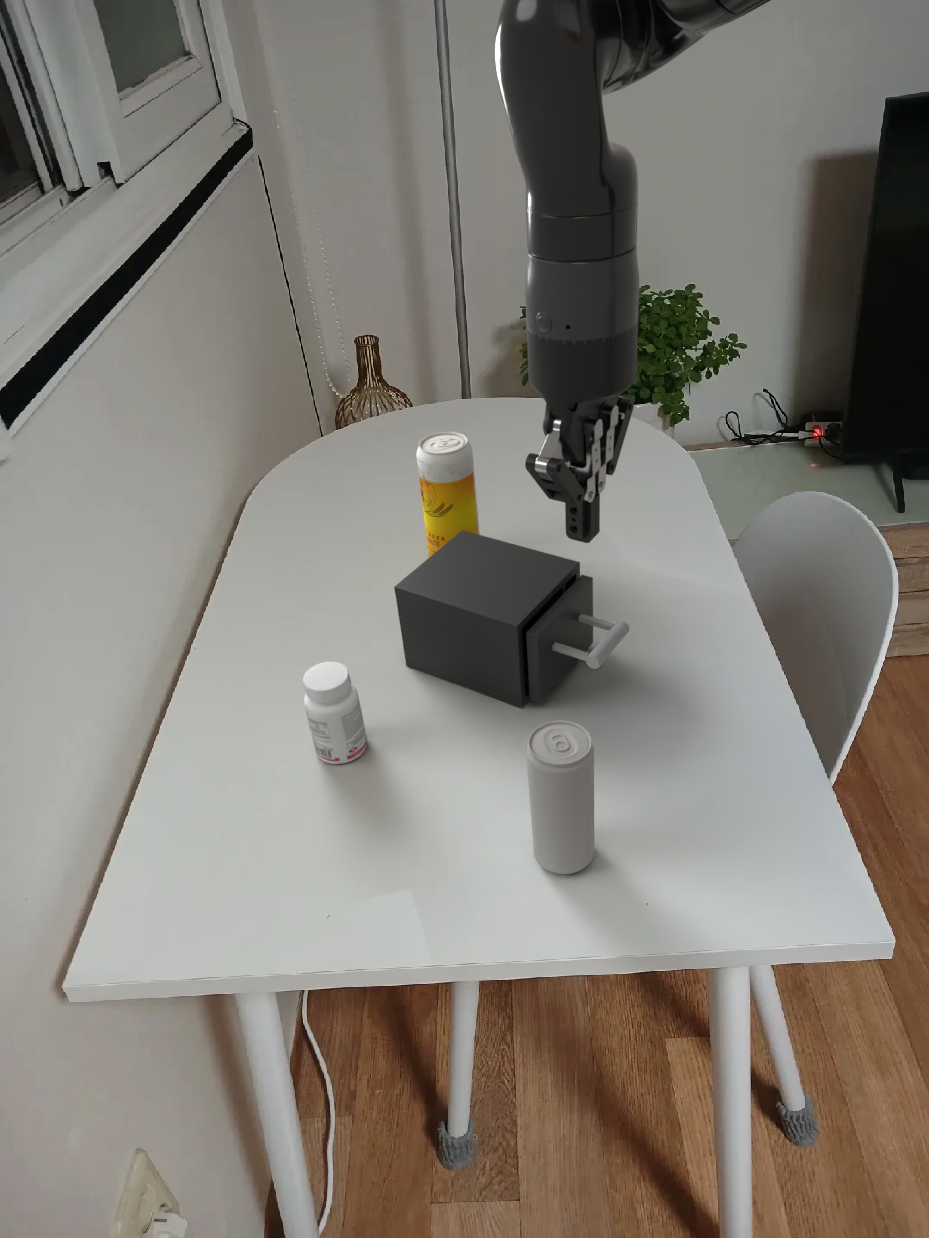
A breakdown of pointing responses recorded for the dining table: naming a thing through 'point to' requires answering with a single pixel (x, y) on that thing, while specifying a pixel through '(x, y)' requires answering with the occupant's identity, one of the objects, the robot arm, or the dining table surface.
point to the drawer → (565, 637)
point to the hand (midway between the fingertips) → (582, 536)
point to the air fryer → (478, 612)
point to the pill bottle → (334, 713)
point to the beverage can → (561, 795)
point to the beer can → (447, 487)
